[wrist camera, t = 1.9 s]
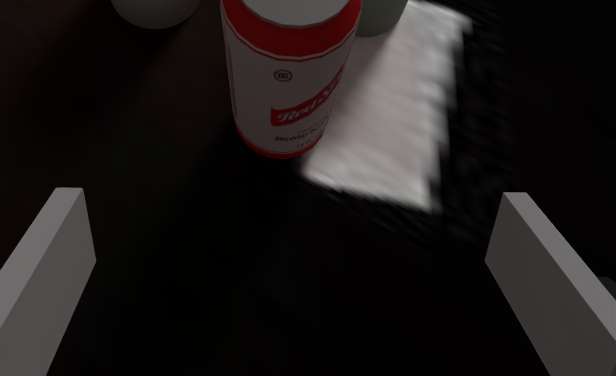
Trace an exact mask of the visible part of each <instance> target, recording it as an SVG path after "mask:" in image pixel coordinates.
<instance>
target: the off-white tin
mask: <svg viewBox="0 0 616 376" xmlns="http://www.w3.org/2000/svg"><path fill="white" fill-rule="evenodd" d="M111 2H112V4H113V6H114V8H115V10H116V11H117V12H118V13H119V15H120V16H121V17H123V18H124V19H125V20H127V21H128V22H130V23H132V24H134V25H136V26H139V27H142V28H147V29H163V28H168V27H172V26H175V25H177V24H179V23H181V22H183V21H184V20H186V19H187V18H188V17H189V16H191V15H192V13H193V12H194V11H195V10H196V8H197V7H198V5H199V3H200V0H111Z"/></svg>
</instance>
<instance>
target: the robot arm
mask: <svg viewBox="0 0 616 376" xmlns="http://www.w3.org/2000/svg"><path fill="white" fill-rule="evenodd" d="M95 262H96V258H95V252H94V247H93V242H92V236H91V231H90V225H89V220H88V214H87V209H86V203H85V198H84V193H83V188H56V189H55V190H54V192H53V193H52V195H51V196H50V198H49V199H48V201H47V202H46V204H45V205H44V207H43V208H42V210H41V211H40V213H39V214H38V216H37V217H36V219H35V220H34V222H33V223H32V225H31V226H30V227H29V229H28V230H27V232H26V233H25V235H24V236H23V238H22V239H21V241H20V242H19V244H18V245H17V247H16V248H15V250H14V251H13V253H12V254H11V256H10V257H9V259H8V260H7V262H6V263H5V265H4V266H3V268H2V269H1V271H0V376H46V373H47V371H48V369H49V367H50V364H51V362H52V360H53V358H54V355H55V353H56V351H57V348H58V346H59V344H60V342H61V339H62V337H63V335H64V333H65V330H66V328H67V326H68V323H69V321H70V319H71V317H72V314H73V312H74V310H75V308H76V305H77V303H78V301H79V299H80V296H81V294H82V292H83V289H84V287H85V285H86V283H87V280H88V278H89V276H90V274H91V271H92V269H93V267H94V265H95ZM485 262H486V264H487V265H488V267H489V269H490V271H491V272H492V274H493V276H494V278H495V279H496V281H497V283H498V285H499V286H500V288H501V290H502V292H503V293H504V295H505V297H506V299H507V300H508V302H509V304H510V306H511V307H512V309H513V311H514V313H515V314H516V316H517V318H518V320H519V321H520V323H521V325H522V326H523V328H524V330H525V332H526V333H527V335H528V337H529V339H530V340H531V342H532V344H533V346H534V347H535V349H536V351H537V353H538V354H539V356H540V358H541V360H542V361H543V363H544V365H545V367H546V368H547V370H548V372H549V374H550V375H551V376H616V283H615V282H614V281H612V280H611V279H609V278H608V277H596V276H595V275H594V274H593V273H592V271H591V270H590V269H589V268H588V267H587V265H586V264H585V263H584V262H583V261H582V259H581V258H580V257H579V256H578V254H577V253H576V252H575V251H574V250H573V248H572V247H571V246H570V245H569V244H568V242H567V241H566V240H565V239H564V238H563V236H562V235H561V234H560V233H559V232H558V230H557V229H556V228H555V227H554V226H553V224H552V223H551V222H550V221H549V219H548V218H547V217H546V216H545V215H544V213H543V212H542V211H541V210H540V209H539V207H538V206H537V205H536V204H535V203H534V201H533V200H532V199H531V198H530V197H529V195H528V194H527V193H506V192H503V196H502V200H501V203H500V207H499V211H498V214H497V218H496V222H495V225H494V229H493V232H492V236H491V240H490V243H489V247H488V251H487V254H486V258H485Z"/></svg>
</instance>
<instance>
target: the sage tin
mask: <svg viewBox="0 0 616 376" xmlns="http://www.w3.org/2000/svg"><path fill="white" fill-rule="evenodd" d="M407 2H408V0H361V17H360V20H359V23H358V26H357V29H356V32H355V36H358V37H371V36H376V35H380V34H382V33H384V32H386V31H388V30H389V29H391V28H392V27H393V26H394V25H395V24H396V23H397V22H398V20H399V19H400V17H401V15H402V13H403V11H404V8H405V6H406V4H407Z"/></svg>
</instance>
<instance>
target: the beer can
mask: <svg viewBox="0 0 616 376" xmlns="http://www.w3.org/2000/svg"><path fill="white" fill-rule="evenodd" d="M220 9H221V17H222V26H223V34H224V42H225V50H226V58H227V67H228V75H229V83H230V91H231V100H232V108H233V116H234V121H235V124H236V128H237V131H238V133H239V135H240V136H241V138H242V139H243V141H244V142H245V144H246V145H248V146H249V147H250V148H252V149H253V150H254V151H255V152H257V153H259V154H261V155H264V156H267V157H269V158H276V159H288V158H292V157H296V156H300V155H302V154H303V153H305V152H307V151H308V150H310V149H311V148H313V147H314V145H315V144H316V143H317V142H318V141H319V139H320V138H321V137H322V135H323V132H324V129H325V127H326V124H327V121H328V118H329V115H330V111H331V108H332V105H333V102H334V99H335V96H336V93H337V89H338V86H339V83H340V80H341V77H342V74H343V70H344V67H345V64H346V61H347V58H348V55H349V51H350V48H351V45H352V42H353V39H354V36H355V32H356V29H357V26H358V23H359V20H360V17H361V0H220Z"/></svg>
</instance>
